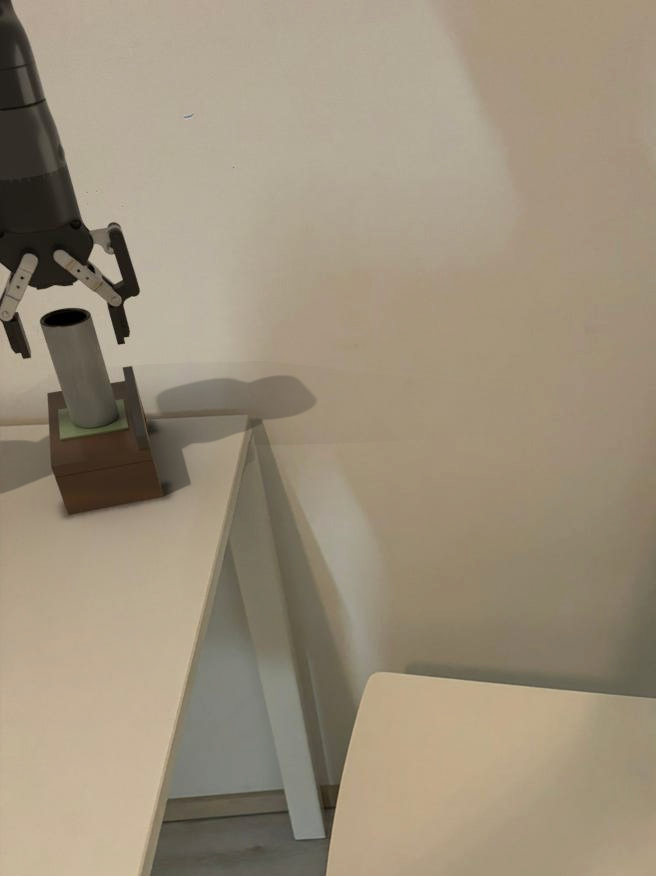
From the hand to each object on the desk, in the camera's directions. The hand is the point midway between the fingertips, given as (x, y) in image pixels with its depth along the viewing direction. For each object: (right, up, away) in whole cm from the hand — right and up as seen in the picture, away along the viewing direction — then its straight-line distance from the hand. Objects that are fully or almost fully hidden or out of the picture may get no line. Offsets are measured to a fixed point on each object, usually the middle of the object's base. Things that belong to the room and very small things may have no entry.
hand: (74, 348), depth 89 cm
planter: (0, -6, +5) cm, 7 cm away
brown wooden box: (0, -10, +9) cm, 13 cm away
